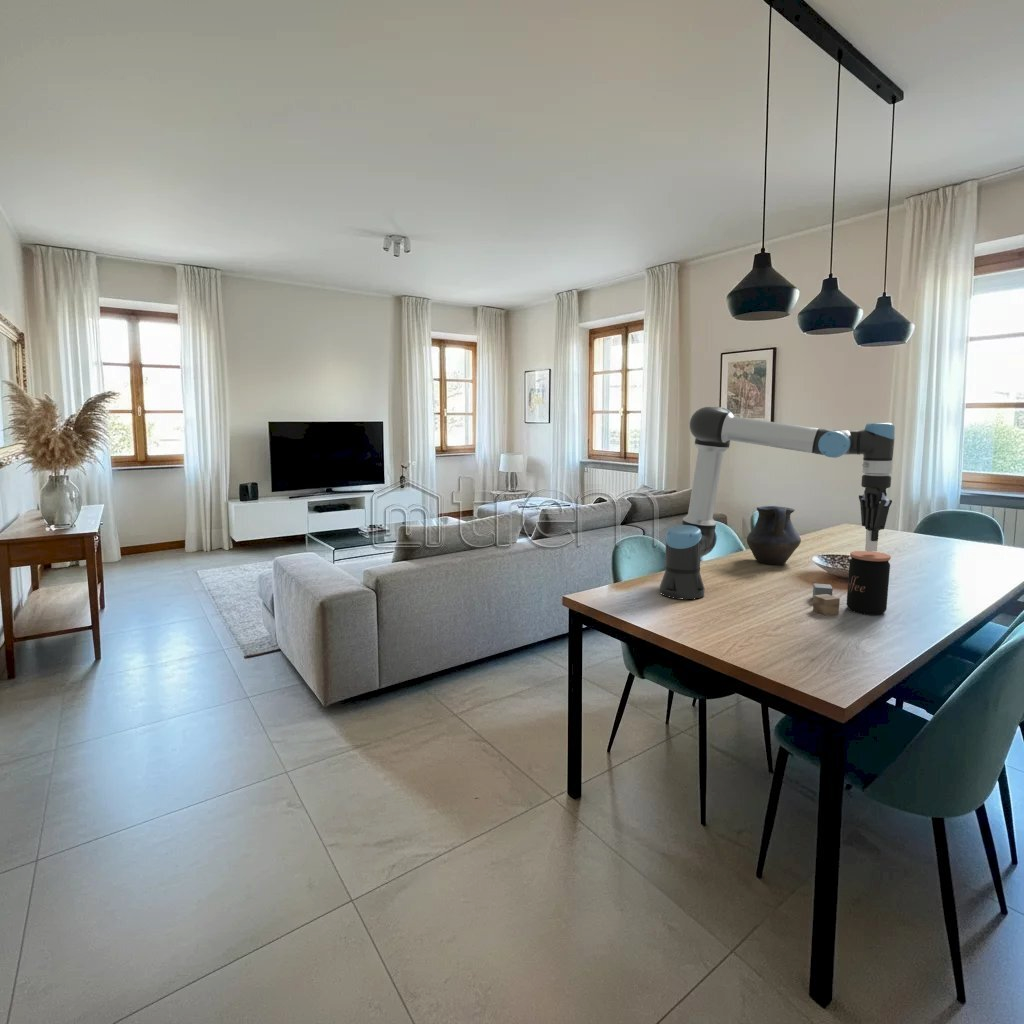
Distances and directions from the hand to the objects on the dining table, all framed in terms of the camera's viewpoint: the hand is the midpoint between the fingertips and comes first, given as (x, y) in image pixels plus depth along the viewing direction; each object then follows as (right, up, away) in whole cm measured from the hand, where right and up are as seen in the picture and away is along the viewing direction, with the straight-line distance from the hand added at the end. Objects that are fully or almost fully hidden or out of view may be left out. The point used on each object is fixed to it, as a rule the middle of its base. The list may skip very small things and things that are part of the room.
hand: (871, 550), depth 176 cm
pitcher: (-1, -10, +65) cm, 66 cm away
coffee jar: (0, -19, +3) cm, 19 cm away
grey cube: (-8, -18, +14) cm, 24 cm away
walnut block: (-13, -19, +2) cm, 23 cm away
